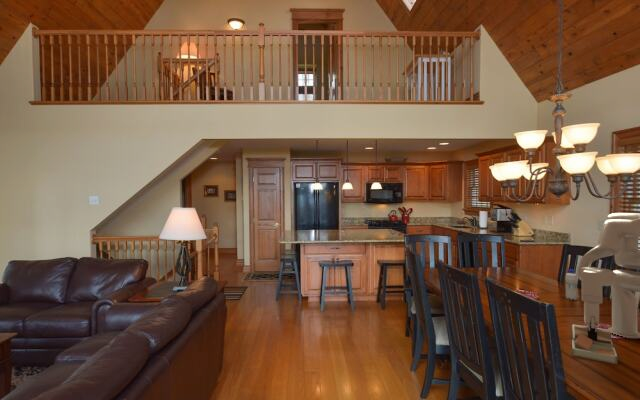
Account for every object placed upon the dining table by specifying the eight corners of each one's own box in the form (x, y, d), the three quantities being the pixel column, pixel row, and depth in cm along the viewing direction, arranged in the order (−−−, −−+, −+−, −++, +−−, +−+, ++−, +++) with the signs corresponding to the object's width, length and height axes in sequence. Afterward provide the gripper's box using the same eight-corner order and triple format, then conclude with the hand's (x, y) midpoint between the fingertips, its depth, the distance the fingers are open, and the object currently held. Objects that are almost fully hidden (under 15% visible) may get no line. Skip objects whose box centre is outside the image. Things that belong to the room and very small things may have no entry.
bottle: (565, 297, 237) (565, 267, 237) (578, 299, 233) (577, 268, 233) (564, 299, 232) (564, 269, 232) (577, 301, 228) (577, 270, 228)
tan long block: (574, 335, 164) (574, 324, 164) (610, 341, 156) (610, 330, 156) (574, 337, 162) (574, 326, 162) (611, 344, 154) (611, 332, 154)
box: (572, 346, 162) (572, 339, 162) (614, 354, 154) (614, 347, 154) (572, 355, 153) (572, 348, 153) (617, 364, 145) (617, 357, 145)
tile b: (578, 334, 161) (580, 333, 159) (591, 341, 158) (593, 340, 157) (574, 343, 159) (576, 341, 157) (586, 350, 156) (588, 349, 155)
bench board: (572, 332, 179) (572, 324, 179) (607, 337, 171) (607, 329, 171) (573, 346, 162) (573, 337, 162) (612, 353, 155) (612, 344, 154)
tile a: (598, 353, 150) (598, 357, 150) (614, 355, 147) (614, 360, 147) (597, 348, 154) (597, 353, 154) (612, 351, 151) (612, 356, 151)
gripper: (580, 292, 168) (581, 331, 168) (582, 301, 154) (582, 343, 154) (600, 294, 163) (601, 334, 164) (604, 304, 150) (604, 347, 150)
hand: (592, 338), depth 159 cm, fingers closed on tan long block, 2 cm apart
